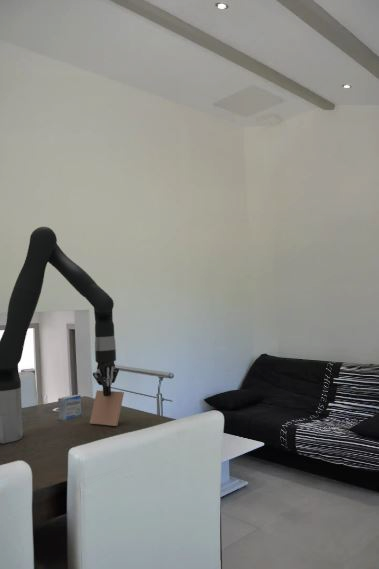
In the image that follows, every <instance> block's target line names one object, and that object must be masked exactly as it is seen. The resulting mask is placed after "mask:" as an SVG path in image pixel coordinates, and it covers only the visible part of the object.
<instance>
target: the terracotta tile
mask: <svg viewBox="0 0 379 569" xmlns="http://www.w3.org/2000/svg"><path fill="white" fill-rule="evenodd" d="M124 394H125V393H124V392H123V391H114V390H113V391H112V390H111V395H110V396H104V395H103V390H96V392H95V397H94V400H93V401H94V402H93V406H92V411H91V415H90V419H89V424H94V425H101V426H102V425H103V426H112V427H113V426H114V427H118V425H119V419H120V414H121V410H122V405H123V399H124Z"/></svg>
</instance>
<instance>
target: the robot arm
mask: <svg viewBox="0 0 379 569" xmlns="http://www.w3.org/2000/svg"><path fill="white" fill-rule="evenodd" d="M29 237H30V238H29V243H28V248H27V252H26V258H25V260H24V263H23V266H22V267H21V270H20V272H19V274H18V276H17V278H16V280H15V283H14V286H13V288H12V292H11V294H10V297H9V300H8V306H7V315H6V323H5V328H4V329H3V333H2V335H1V338H0V444H7V443H12V442H16V441H20V440H22V439H23V438H24V436H23V434H24V432H23V412H22V411H23V408H22V385H21V384H22V382H21V378H20V373H19V363H20V362H21V360H22V356H23V351H24V346H25V342H26V338H27V334H28V330H29V327H30V325H31V322H32V320H33V318H34V314H35V311H36V308H37V306H38V302H39V300H40V296H41V293H42V288H43V286H44V279H45V273H46V267H47V265H48V263H49V264H50V265H51V266H52V267H53V268H54V269H55V270H57V271H58V272H59V273H60V275H62V277H63V278H64V279H65V280H66V281H67V282H68V283H69V284H70V285H71V287H73V288H74V289H75V291H77V292H78V293H79V295H81V296H82V297H83V298H84V299H86V300H87V301H88V303H89V304H90V305H91V306H92V307H93V311H94V312H93V314H94V320H95V322H94V335H95V336H94V337H95V338H94V354H95V362H96V363H97V366H96V371H95V372H92V376H93V378H94V379H95V381H96V383H97V384H98V385H99V386H102V391H103V395H104V396H110V395H111V391H112V384H115V382H116V381H117V380H116V379H117V376H118V374H119V371H120V369H119V368H117V367H116V364H115V362H116V360H117V351H116V350H117V349H116V339H115V324H114V321H113V320H114V318H113V309H114V304H115V302H114V300H113V298H112V297H111V296H110V295H109V294H108V293H107V292H106V291H105V290H104V289H103V288H101V287H100V286H99V285H98V284H97V282H96V281H95V280H94V279H93V278H92V277H91V275H89V274H88V272H86V271H85V270H84V269H83V268H82V267H80V266H79V265H78V264H77V263H75V261H73V260H72V259H71V258H70V257H69V256H67V255H66V254H65V252H64V251H63V250H62V249H61V248H60V246H59V245H58V243H57V242H58V239H57V235H56V233H55V232H54V230H53V229H52V228H50V227H49V226H40V227H37V228H36V229H34V230H33V231H32V233H31V234H30V236H29Z"/></svg>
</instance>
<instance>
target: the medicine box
mask: <svg viewBox="0 0 379 569" xmlns="http://www.w3.org/2000/svg"><path fill="white" fill-rule="evenodd" d="M57 403H58V404H57V405H58V407H57V408H59V409H58V420H59V421H68V420H70V419H75V418H78V417H82V398H81V395H80V394H72V395H68V396H64V397H59V398H58V399H57Z"/></svg>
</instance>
